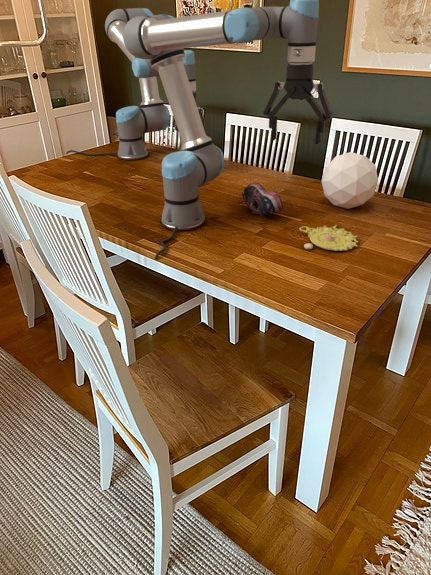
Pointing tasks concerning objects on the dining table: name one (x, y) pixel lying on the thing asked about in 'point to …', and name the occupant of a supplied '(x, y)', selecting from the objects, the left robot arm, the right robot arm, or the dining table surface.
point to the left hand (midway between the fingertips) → (190, 147)
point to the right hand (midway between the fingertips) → (295, 141)
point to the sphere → (349, 180)
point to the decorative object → (330, 238)
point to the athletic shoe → (261, 200)
